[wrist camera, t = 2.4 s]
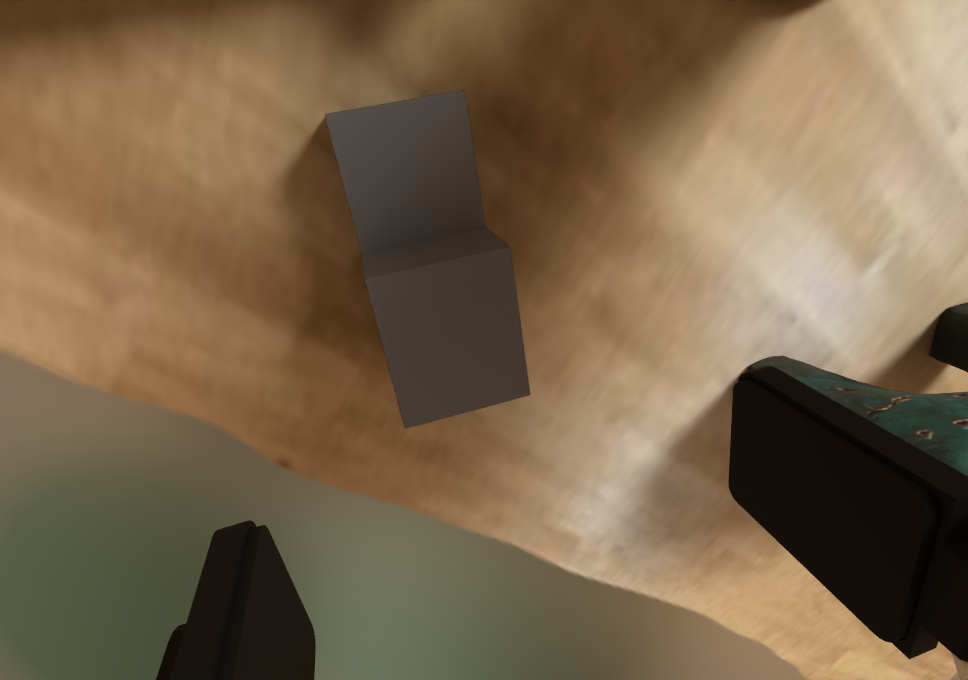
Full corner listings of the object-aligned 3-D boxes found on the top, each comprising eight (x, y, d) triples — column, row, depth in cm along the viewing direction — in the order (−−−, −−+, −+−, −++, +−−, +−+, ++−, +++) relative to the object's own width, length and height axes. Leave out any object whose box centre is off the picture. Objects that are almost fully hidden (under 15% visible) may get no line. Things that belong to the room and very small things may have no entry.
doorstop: (447, 93, 22) (488, 86, 16) (486, 328, 27) (530, 394, 20) (327, 113, 21) (319, 114, 15) (390, 352, 26) (404, 428, 20)
